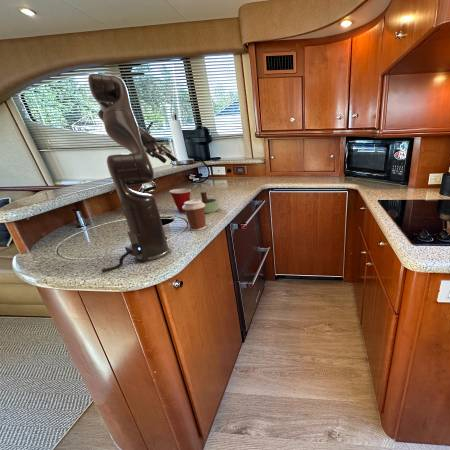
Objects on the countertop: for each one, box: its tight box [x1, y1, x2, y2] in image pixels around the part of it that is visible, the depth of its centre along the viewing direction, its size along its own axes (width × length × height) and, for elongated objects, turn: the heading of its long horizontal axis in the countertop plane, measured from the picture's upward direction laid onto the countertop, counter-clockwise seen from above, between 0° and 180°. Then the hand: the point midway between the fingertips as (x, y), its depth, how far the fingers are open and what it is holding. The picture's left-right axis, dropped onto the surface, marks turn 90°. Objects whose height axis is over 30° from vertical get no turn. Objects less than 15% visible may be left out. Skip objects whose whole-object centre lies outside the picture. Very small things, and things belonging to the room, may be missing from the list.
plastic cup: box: [168, 188, 192, 213], centre depth 131 cm, size 11×11×12 cm
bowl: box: [204, 197, 220, 215], centre depth 130 cm, size 13×13×6 cm
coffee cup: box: [182, 199, 207, 232], centre depth 103 cm, size 9×9×12 cm
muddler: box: [200, 191, 210, 204], centre depth 129 cm, size 4×4×10 cm
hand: (170, 160), depth 119 cm, fingers open, 8 cm apart
